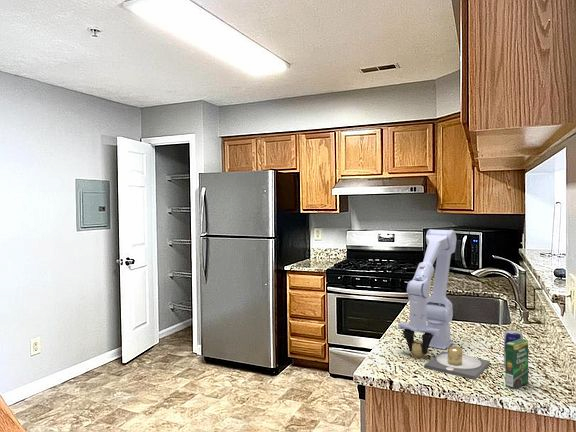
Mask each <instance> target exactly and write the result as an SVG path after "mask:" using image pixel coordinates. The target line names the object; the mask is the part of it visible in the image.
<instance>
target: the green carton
mask: <svg viewBox="0 0 576 432" xmlns="http://www.w3.org/2000/svg"><path fill="white" fill-rule="evenodd" d="M504 373H505V375H504V376H505V387H507V388H510V389H512V390H514V389H517V388H519V387H522V386H524V385H527V384H528V383H529V340H528V339H524V338H523V339H521V338H520V339H517V340H515V341H512V342H509V343H506V368H505V372H504Z"/></svg>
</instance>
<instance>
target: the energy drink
mask: <svg viewBox="0 0 576 432" xmlns="http://www.w3.org/2000/svg"><path fill="white" fill-rule="evenodd" d="M503 334H504V338H503V339H504V340H503V341H504V342H503V343H504V344H503V348H504V349H503V366H504V368H505V369H506V343H509V342H512V341H515V340H517V339H520V338H521V339H524V338H523V332H522V331H520V330H516V329H506V330H504V333H503Z"/></svg>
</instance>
